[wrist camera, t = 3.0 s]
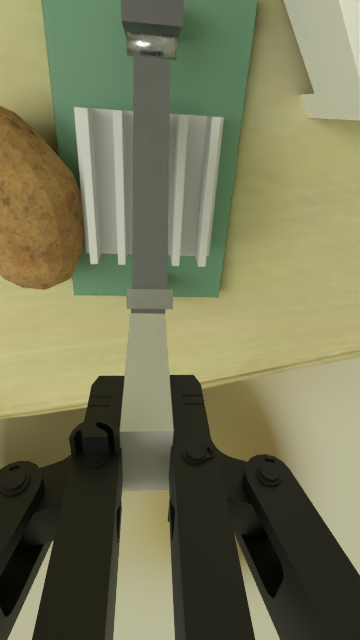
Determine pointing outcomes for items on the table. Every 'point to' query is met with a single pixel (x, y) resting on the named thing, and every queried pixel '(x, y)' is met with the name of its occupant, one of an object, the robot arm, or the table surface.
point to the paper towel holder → (329, 55)
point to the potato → (36, 209)
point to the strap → (150, 168)
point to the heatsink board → (189, 92)
